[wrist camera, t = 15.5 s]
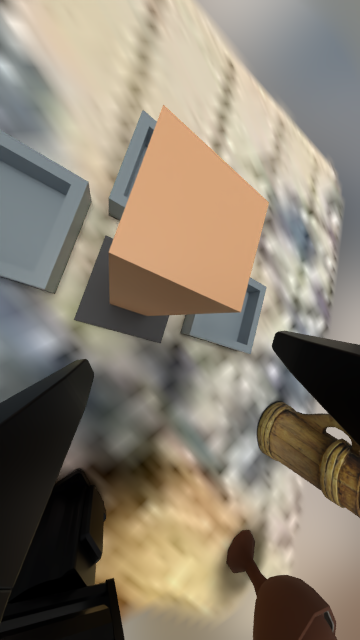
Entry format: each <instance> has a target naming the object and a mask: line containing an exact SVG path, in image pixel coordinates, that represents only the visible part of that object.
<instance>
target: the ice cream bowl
mask: <svg viewBox="0 0 360 640" xmlns="http://www.w3.org/2000/svg"><path fill="white" fill-rule="evenodd" d="M254 547H255V541H254V538H253V536H252V534H251V532H250V530H243V531H242V532H240V533H239V534H238V535H237V536H236V537H235V538H234V540H233V542H232V544H231V546H230V548H229V550H228V555H227V564H228V566H229V568H230V569H231V570H232V572H233V573H238V572H245V571H246V573H247V574H248V576H249V578H250V580H251V582H252V583H253V585H254V588H255V592H256V595H257V599H256V603H255V612H254V626H253V640H337V639H336V636H335V630H336V621H335V618H334V616H333V613H332V611H331V609H330V606H329V605H328V604H327V603H326V602H325V601H324V600H323V599H322V597H321V596H320V595H319V594H318V593H317V592H316V591H315V590H314V589H313V588H312V587H310V586H309V585H308V584H306V583H305V582H304V581H303V580H301V579H299V578H295V577H292V576H289V575H278V576H273V577H270V578H269V579H266V578H265V577H264V576H263V575H262V574H261V573H260V571H259V569H258V567H257V565H256V564H255V562H254V560H253V557H254Z"/></svg>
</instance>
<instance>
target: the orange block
mask: <svg viewBox="0 0 360 640" xmlns="http://www.w3.org/2000/svg"><path fill="white" fill-rule="evenodd" d="M268 204H269V202H268V201H267V200H266V199H265V198H263V197H262V196H261V195H260V194H259V193H258V192H257V191H256V190H255V189H254V188H253V187H252V186H251V185H249V184H248V183H247V182H246V181H245V180H244V179H243V178H242V177H241V176H240V175H239V174H238V173H236V172H235V171H234V170H233V169H232V168H231V167H230V166H229V165H228V164H227V163H226V162H225V161H224V160H222V159H221V158H220V157H219V156H218V155H217V154H216V153H215V152H214V151H213V150H212V149H211V148H210V147H208V146H207V145H206V144H205V143H204V142H203V141H202V140H201V139H200V138H199V137H198V136H197V135H195V134H194V133H193V132H192V131H191V130H190V129H189V128H188V127H187V126H186V125H185V124H184V123H183V122H181V121H180V120H179V119H178V118H177V117H176V116H175V115H174V114H173V113H172V112H171V111H170V110H169V109H167V108H166V107H165V106H164V105H163V107H162V110H161V113H160V115H159V118H158V121H157V123H156V126H155V129H154V131H153V134H152V137H151V140H150V142H149V145H148V148H147V150H146V153H145V156H144V158H143V161H142V164H141V166H140V169H139V172H138V174H137V177H136V180H135V183H134V185H133V188H132V191H131V193H130V196H129V199H128V201H127V204H126V207H125V209H124V212H123V215H122V217H121V220H120V223H119V226H118V228H117V231H116V234H115V236H114V239H113V242H112V244H111V247H110V250H109V296H110V304H112V305H115V306H118V307H121V308H124V309H127V310H130V311H133V312H136V313H139V314H142V315H145V316H160V315H186V314H211V313H236V312H241V310H242V306H243V302H244V298H245V294H246V290H247V286H248V282H249V278H250V274H251V271H252V267H253V263H254V259H255V255H256V251H257V247H258V243H259V239H260V235H261V231H262V228H263V224H264V220H265V216H266V212H267V208H268Z"/></svg>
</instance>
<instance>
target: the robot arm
mask: <svg viewBox="0 0 360 640" xmlns="http://www.w3.org/2000/svg"><path fill="white" fill-rule="evenodd" d="M272 348H273V350H274V352H275V353H276V354H277V356H278V357H279V358H280V359H281V361H282V362H283V363H284V365H285V366H286V367H287V369H288V370H289V371H290V372H291V373H292V375H293V376H294V377H295V378H296V379H297V380H298V381H299V382H300V383H301V384H302V385H303V386H304V387H305V389H306V390H307V391H308V392H309V393H310V394H311V395H312V396H313V397H314V398H315V399H316V400H317V401H318V402H319V404H320V405H321V406H322V407H323V408H324V409H325V410H326V411H327V412H328V413H329V414H330V415H331V416H332V417H333V419H334V420H335V421H336V422H337V423H338V424H339V425H340V426H341V427H342V428H343V429H344V430H345V431H346V432H347V434H348V435H349V436H350V437H351V438H352V439H353V440H354V441H355V442H356V443H357V444H358V445H359V446H360V345H357V344H352V343H346V342H341V341H336V340H331V339H325V338H320V337H315V336H310V335H304V334H299V333H294V332H289V331H280V332H277V333H276V334H275V337H274V340H273V343H272ZM93 379H94V372H93V370H92V368H91V366H90V363H89V361H88V360H87V359H82V360H77V361H74V362H73V363H71V364H69V365H67V366H66V367H64V368H62V369H60V370H58V371H57V372H55V373H53V374H51V375H50V376H48V377H46V378H44V379H42V380H41V381H39V382H37V383H35V384H34V385H32V386H30V387H28V388H26V389H25V390H23V391H21V392H19V393H17V394H16V395H14V396H12V397H10V398H9V399H7V400H5V401H3V402H1V403H0V640H124V634H123V628H122V622H121V616H120V611H119V605H118V599H117V593H116V587H115V581H114V578H112V579H108V580H106V581H105V582H104V583H99V584H95V572H96V563H97V562H98V561H99V560H100V559H101V556H102V550H103V522H104V521H105V519H106V510H105V509H104V502H103V500H102V498H101V496H100V495H99V493H98V491H97V490H96V488H95V486H94V485H91V484H90V483H89V481H88V479H87V478H86V476H85V474H84V472H83V471H82V470H76V471H75V472H73V473H72V474H70V475H69V476H67V477H66V478H64V479H63V480H61V481H60V482H58V483H57V484H55V482H56V480H57V477H58V475H59V472H60V470H61V467H62V465H63V462H64V460H65V457H66V455H67V452H68V450H69V447H70V445H71V442H72V440H73V437H74V435H75V432H76V430H77V427H78V425H79V422H80V420H81V417H82V415H83V412H84V410H85V407H86V404H87V400H88V397H89V393H90V389H91V386H92V382H93ZM76 476H79V477H77V478H75V477H76ZM54 484H55V485H54Z"/></svg>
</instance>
